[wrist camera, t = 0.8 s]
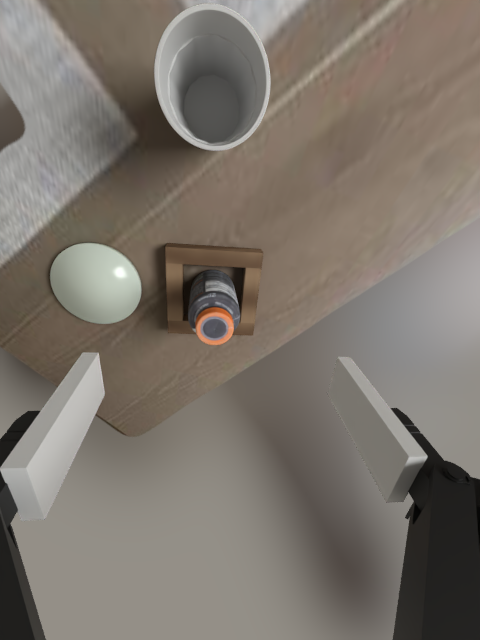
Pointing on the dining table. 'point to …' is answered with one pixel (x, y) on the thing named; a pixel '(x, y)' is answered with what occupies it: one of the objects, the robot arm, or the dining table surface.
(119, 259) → the pale green rounded part
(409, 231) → the dining table surface
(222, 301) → the pill bottle
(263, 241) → the dining table surface
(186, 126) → the cup
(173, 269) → the open wooden frame
